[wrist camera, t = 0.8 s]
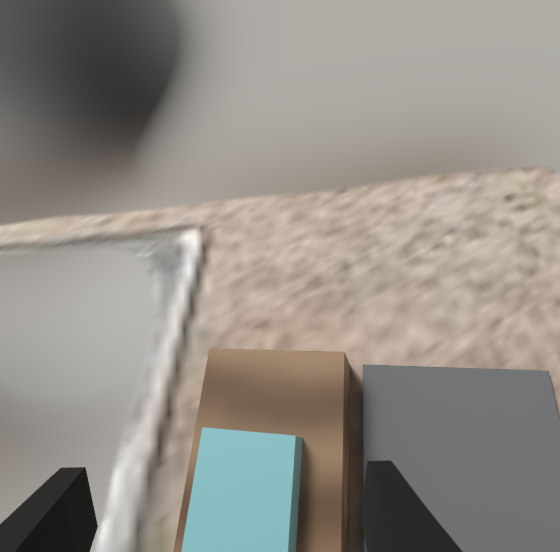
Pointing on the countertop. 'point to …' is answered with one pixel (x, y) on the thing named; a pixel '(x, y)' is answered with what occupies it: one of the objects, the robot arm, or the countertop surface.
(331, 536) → the brown flat block
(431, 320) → the countertop surface
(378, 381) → the mat
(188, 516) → the thick teal block
